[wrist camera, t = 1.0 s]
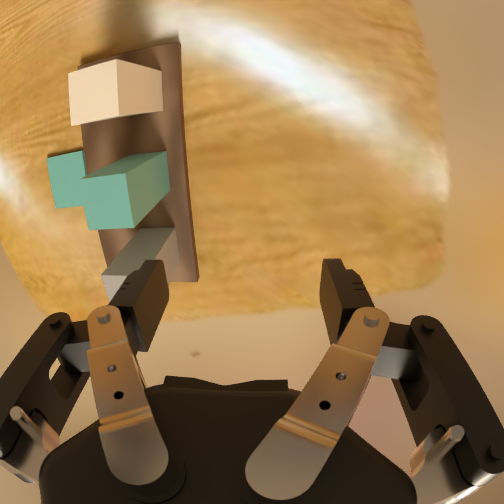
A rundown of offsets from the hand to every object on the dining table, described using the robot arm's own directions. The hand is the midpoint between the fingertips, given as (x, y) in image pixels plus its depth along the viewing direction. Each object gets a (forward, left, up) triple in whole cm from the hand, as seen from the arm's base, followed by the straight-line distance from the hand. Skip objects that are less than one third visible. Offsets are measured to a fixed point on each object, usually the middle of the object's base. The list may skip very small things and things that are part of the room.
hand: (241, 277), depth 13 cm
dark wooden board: (-13, -8, -26) cm, 30 cm away
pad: (-23, -13, -26) cm, 37 cm away
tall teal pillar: (-11, -6, -24) cm, 27 cm away
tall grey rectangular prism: (-6, -15, -24) cm, 29 cm away
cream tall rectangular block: (-16, +2, -24) cm, 29 cm away
